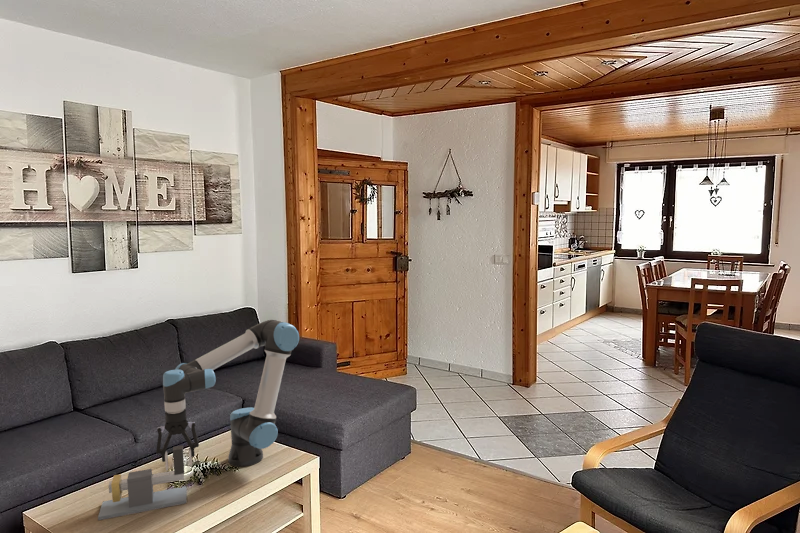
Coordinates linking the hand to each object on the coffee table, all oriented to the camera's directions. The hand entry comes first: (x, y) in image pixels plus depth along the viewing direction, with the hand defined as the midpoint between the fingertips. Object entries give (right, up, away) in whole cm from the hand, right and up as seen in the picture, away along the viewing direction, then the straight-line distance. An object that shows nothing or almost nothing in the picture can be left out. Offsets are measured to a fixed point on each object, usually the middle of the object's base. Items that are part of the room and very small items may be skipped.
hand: (179, 466), depth 213 cm
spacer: (-20, -9, -7) cm, 23 cm away
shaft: (-10, -5, -4) cm, 12 cm away
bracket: (-12, -13, -4) cm, 18 cm away
